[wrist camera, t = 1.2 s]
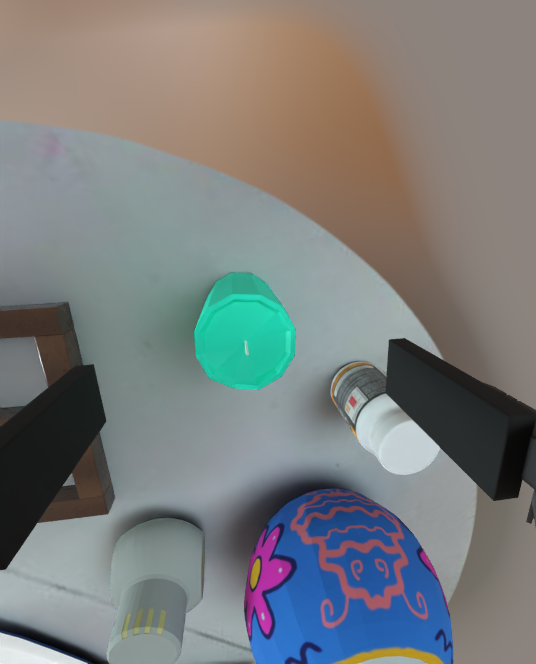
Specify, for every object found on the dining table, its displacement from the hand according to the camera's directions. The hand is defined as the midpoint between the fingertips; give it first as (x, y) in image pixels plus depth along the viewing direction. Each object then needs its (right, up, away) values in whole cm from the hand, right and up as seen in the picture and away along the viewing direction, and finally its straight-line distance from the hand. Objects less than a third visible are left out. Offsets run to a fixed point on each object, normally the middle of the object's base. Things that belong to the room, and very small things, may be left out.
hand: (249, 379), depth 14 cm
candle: (-2, +5, +14) cm, 15 cm away
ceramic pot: (+6, -20, +22) cm, 31 cm away
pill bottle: (+10, -3, +18) cm, 20 cm away
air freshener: (-10, -21, +21) cm, 31 cm away
